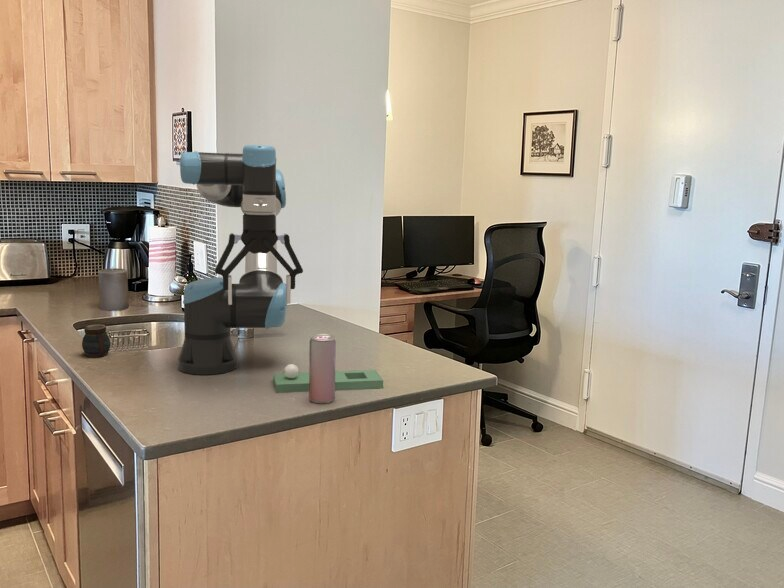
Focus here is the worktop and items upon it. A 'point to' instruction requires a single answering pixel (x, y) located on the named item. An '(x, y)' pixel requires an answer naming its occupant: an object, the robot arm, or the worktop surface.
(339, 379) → the green rectangular board
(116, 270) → the pillar candle
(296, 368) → the white ball
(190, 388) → the worktop surface
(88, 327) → the mate gourd
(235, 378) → the worktop surface
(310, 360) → the beverage can
